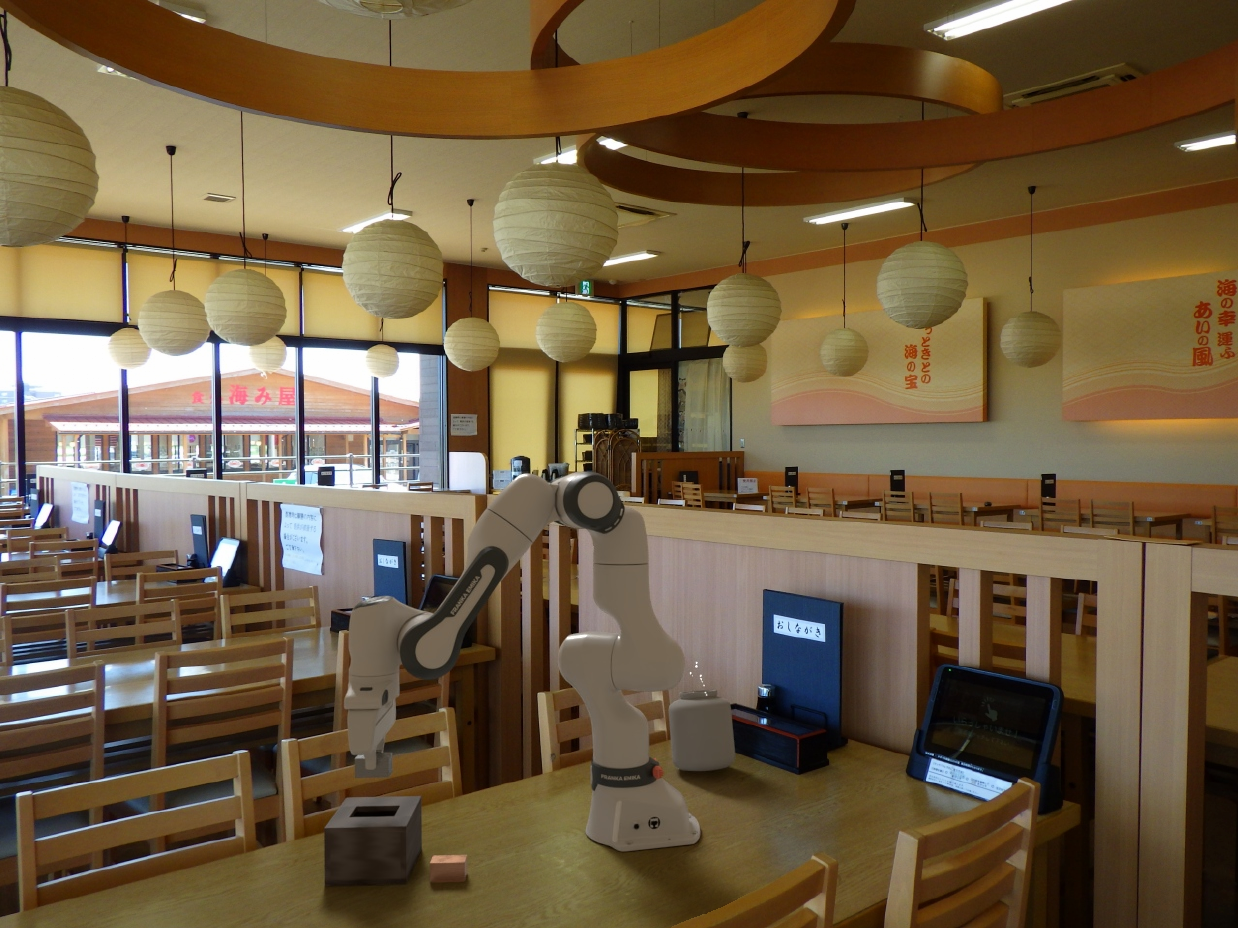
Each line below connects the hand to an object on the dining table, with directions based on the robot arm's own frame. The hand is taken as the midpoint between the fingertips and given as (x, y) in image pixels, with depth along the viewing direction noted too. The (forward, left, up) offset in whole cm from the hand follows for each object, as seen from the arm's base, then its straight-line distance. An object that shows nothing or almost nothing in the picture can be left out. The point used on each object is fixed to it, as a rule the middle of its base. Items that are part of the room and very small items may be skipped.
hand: (374, 764), depth 159 cm
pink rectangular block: (-14, +5, -19) cm, 24 cm away
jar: (-65, -48, -19) cm, 83 cm away
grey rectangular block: (0, 0, -2) cm, 2 cm away
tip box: (0, 0, -19) cm, 19 cm away
